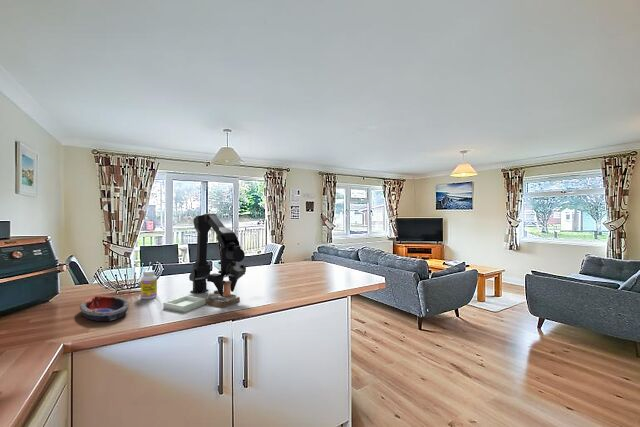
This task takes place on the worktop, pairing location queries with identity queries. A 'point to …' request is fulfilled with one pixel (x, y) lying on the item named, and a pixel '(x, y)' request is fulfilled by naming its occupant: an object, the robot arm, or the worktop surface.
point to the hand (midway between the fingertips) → (227, 293)
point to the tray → (184, 303)
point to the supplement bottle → (148, 285)
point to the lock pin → (227, 289)
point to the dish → (104, 308)
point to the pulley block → (220, 299)
